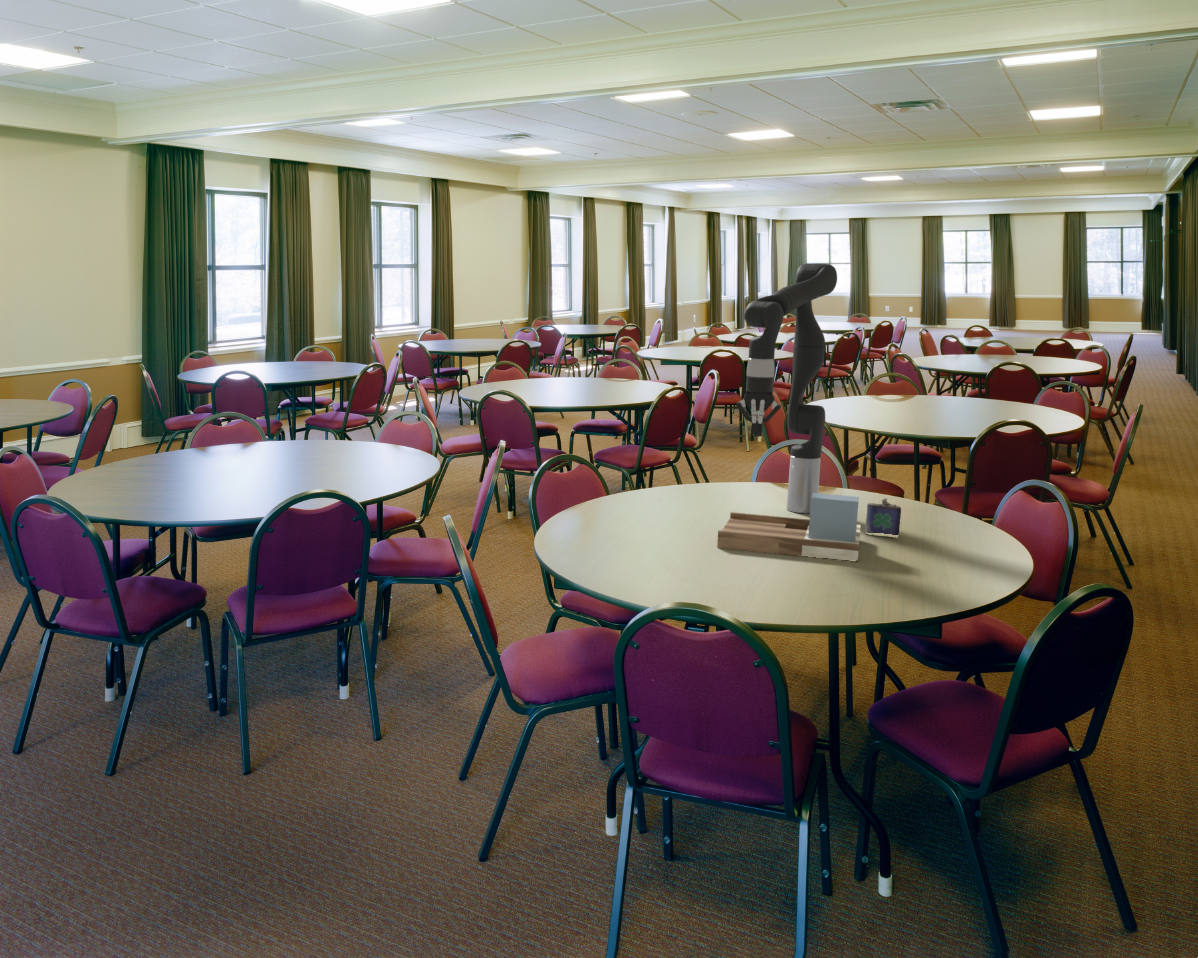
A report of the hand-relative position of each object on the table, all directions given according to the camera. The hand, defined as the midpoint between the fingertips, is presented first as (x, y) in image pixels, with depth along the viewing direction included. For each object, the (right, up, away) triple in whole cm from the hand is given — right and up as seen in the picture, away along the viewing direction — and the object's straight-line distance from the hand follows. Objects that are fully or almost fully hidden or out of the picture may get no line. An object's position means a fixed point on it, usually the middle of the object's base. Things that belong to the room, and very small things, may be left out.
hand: (756, 436), depth 251 cm
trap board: (+7, -30, -9) cm, 32 cm away
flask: (+36, -28, +1) cm, 46 cm away
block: (+18, -28, -13) cm, 35 cm away
